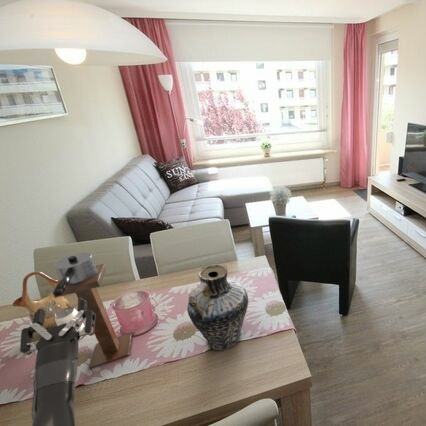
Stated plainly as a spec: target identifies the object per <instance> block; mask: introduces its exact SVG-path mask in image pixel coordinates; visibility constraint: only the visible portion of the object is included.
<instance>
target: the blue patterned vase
mask: <svg viewBox="0 0 426 426" xmlns="http://www.w3.org/2000/svg"><path fill="white" fill-rule="evenodd" d="M228 270H229V269H228V266H226V265H225V264H222V263H213V264H210V265H207V266H204V267H202V268H201V269H200V270H199V271H198V273H197V276H198V278H199V280H200V283H199V285H198V286H196V287H195V288H193V289H191V291H189V293H188V303H187V314H188V317H189V319H190V321H191V323H192V324H193V326H194V327H195V328H196V329H197V330H198V331H199V333H200V334H201V335H202V337H203V338H204V339H205V340H206V341H207V344H208V345H209V346H210V348H211V349H213V350H216V351H222V350H227V349H230V348H231V347H233V346H234V345H236V344H237V342H238V341H239V340H240V338H241V332H242V328H243V324H244V319H245V317H246V314H247V312H248V306H249V295H248V291H247V290H246V288H245V287H244V286H243V285H242V284H240V283H239V282H237V281H234V280H230V279H227V278H228Z"/></svg>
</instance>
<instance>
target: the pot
mask: <svg viewBox="0 0 426 426" xmlns="http://www.w3.org/2000/svg"><path fill="white" fill-rule="evenodd" d="M53 266H54V270H55V271H56V274H57V276H58V278H59V280H60V282H59V284H58V285H57V287H56V288H55V290H54V292H53V294H54V295H55V296H61V295H62V294H63V292H64V291H65V289H66V287H67V286H70V285H76V284H80V283H83V282H85V281H87V280H89V279H91V278H93V277H94V276H95V275H96V274H97V273H98V270H97V268H96V266H97V265H96V263H95V261H94V258H93V256H92V253H90V252H78V253H75V254H71V255H68V256H65V257H63V258H61V259H59V260H57V262H55V264H53Z"/></svg>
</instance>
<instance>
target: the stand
mask: <svg viewBox="0 0 426 426" xmlns="http://www.w3.org/2000/svg"><path fill="white" fill-rule="evenodd" d="M96 268H97V270H98V273H97V274H96V275H95V276H94V277H93V278H91V279H89V280H87V281H85V282H83V283H80V284H76V285H70V286H67V287H66V289H65V291H64V292H63V294H62V295H61V296H63V297H65V296H68V295H72V294H75V295H76V298H77V300H78V299H79V298H83V299H84V300H85V301H86V302H87V311H88V310H92V311H93V312H94V313H95V314H96V319H95V330H94V334H93V335H94V336H95V338H96V341H97V343H96V345H95V350H94V352H93V356H92V359H91V363H90V365H89V369H94V368H97V367H100V366H102V365H105V364H108V363H112V362H114V361H117V360H120V359H123V358H126V357H128V356H130V350H131V343H132V338H133V332H130V333H127V334H124V335H123V334H122V335H121V336H117V333H116V331H115V329H114V327H113V324H112V322H111V319H110V317H109V315H108V312H107V310H106V308H105V305H104V303H103V301H102V299H101V296H100V294H99V291H98V289H97V288H99V287H101V284H102V282H103V279H104V276H105V274H106V271H107V267H106V264H105V263H102V264H97V265H96ZM58 280H59V282H60V279H58ZM59 282H58V284H59ZM58 284H57V285H58ZM57 285H56V287H57ZM56 287H55V288H56ZM54 290H55V289H54ZM54 290H53V292H54ZM53 292H52V291H51V293H53ZM53 295H54V294H53ZM54 297H55V298H56V297H60V296H55V295H54Z"/></svg>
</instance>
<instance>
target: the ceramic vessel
mask: <svg viewBox="0 0 426 426" xmlns="http://www.w3.org/2000/svg"><path fill="white" fill-rule="evenodd" d="M36 275H38V276H40V277H42V278H43V279H45V280H46V281H47V283H48V284H49V285H50V287H51V289H52V290H51V293H50V294H49V295H48V296H46V297H44V298H42V299H39V300H33V299H32V298H31V297H30V294H29V292H28V291H29V290H28V280H29V278H30V277H32V276H36ZM59 280H60V279H57V280H55V279H53V278H51V277H50V276H49V275H46V273H44V272H41V271H32V272H30V273H28V274H26V275H25V276H24V278H23V280H22V292H21V296H20V297H18V298H16V299H15V300H14V301H13V302H12V306H13V307H21V308H24V309H26V310H27V311H28V312H29V319H30V322H31V325H32V324H33V319H34V314H35V312H37V310H38V309H41V308H42V309H43V310H45V319H44V325H42V326H43V327H44V328H45V329H46V330H49V329H50V327H54V326H57V324H56V322H55V314H56V313H57V312H59V311H60V310H62V309H65V308H68V307H72V305H71V303H70V301H69V300H68V299H67V298H66V297H65V296H60V297H56V298H55V297H54V295H53V293H52V292H53V290H54V289H55V287H56V285H57V284H58V282H59Z"/></svg>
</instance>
